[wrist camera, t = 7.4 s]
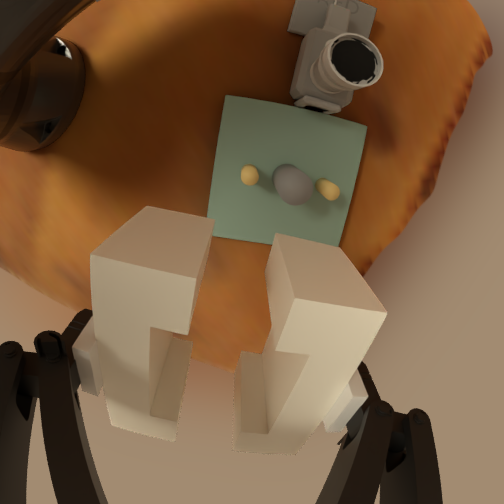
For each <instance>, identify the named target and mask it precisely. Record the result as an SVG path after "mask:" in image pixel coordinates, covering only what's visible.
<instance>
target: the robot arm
mask: <svg viewBox="0 0 504 504" xmlns="http://www.w3.org/2000/svg"><path fill="white" fill-rule="evenodd" d="M95 1H96V2H98V1H100V0H0V146H2V147H5V148H9V149H12V150H16V151H24V152H25V151H32V150H36V149H41V148H44V147H46V146H48V145H50V144H51V143H53V142H54V141H55V140H56V139H58V138H59V137H60V136H61V135H62V134H63V132H64V131H65V130H66V129H67V127H68V126H69V125H70V123H71V121H72V120H73V118H74V116H75V114H76V112H77V110H78V107H79V105H80V102H81V99H82V95H83V90H84V84H85V66H84V61H83V58H82V55H81V53H80V51H79V50H78V48H77V47H76V46H75V45H74V44H73V43H71V42H70V41H68V40H65V39H63V38H60V37H57V36H54V35H55V34H56V33H57V32H58V31H59V30H61V29H62V28H63V27H64V26H65V25H66V24H67V23H68V22H70V21H71V20H72V19H73V18H74V17H76V16H77V15H78V14H79V13H81V12H82V11H83V10H85V9H86V8H87V7H89V6H90V5H91V4H93V3H94V2H95ZM34 345H35V349H36V352H37V353H33V352H25V351H23V349H22V346H21V345H20V344H19V343H17V342H15V341H7V342H5V343H3V344H1V345H0V504H26V482H27V466H28V455H29V445H30V437H31V430H32V424H33V418H34V412H35V407H36V401H37V398H39V399H40V411H41V420H42V429H43V437H44V444H45V450H46V455H47V461H48V466H49V471H50V475H51V480H52V484H53V488H54V491H55V495H56V499H57V502H58V504H108V502H107V499H106V497H105V494H104V491H103V489H102V486H101V483H100V480H99V477H98V474H97V471H96V468H95V464H94V461H93V458H92V454H91V450H90V447H89V443H88V439H87V435H86V431H85V426H84V422H83V417H82V413H81V408H80V402H79V396H78V393H77V389H78V387H79V385H80V384H81V387H82V391H84V392H87V393H90V394H93V395H96V396H98V395H99V393H100V390H101V388H102V386H103V379H102V374H101V368H100V361H99V354H98V347H97V340H96V339H95V332H94V322H93V311H92V310H88V309H84V310H82V311H80V312H79V313H77V314H76V316H75V317H74V319H73V320H72V322H70V324H69V325H68V327H67V328H66V329H65V331H64V332H63V333H62V335H60V333H58V332H55V331H49V330H48V331H43V332H41V333H40V334H38V335H37V336H36V337H35V339H34ZM323 422H324V426H325V431H326V432H341V430H342V429H343V428H344V427H345V426H347V430H348V432H347V433H346V434H345V435H344V437H343V438H342V439H341V440H340V441H339V442H338V445H340V443H341V442H342V443H341V446H340V449H339V451H338V454H337V457H336V459H335V461H334V464H333V466H332V469H331V471H330V473H329V475H328V478H327V480H326V482H325V484H324V487H323V489H322V491H321V493H320V495H319V497H318V499H317V502H316V504H374V502H375V499H376V495H377V492H378V488H379V485H380V504H443V501H442V491H441V482H440V474H439V468H438V460H437V454H436V448H435V443H434V437H433V432H432V428H431V422H430V419H429V416H428V415H427V414H426V413H425V412H424V411H423V410H421V409H417V408H416V409H412V410H410V412H409V413H408V414H402V413H398V412H394V410H393V408H392V406H390V404H389V403H387V402H385V401H382V400H381V399H380V396H379V394H378V392H377V389H376V387H375V385H374V382H373V380H372V378H371V375H370V374H369V371H368V369H367V366H366V365H365V364H364V363H363V362H362V361H361V363H360V364H359V366H358V368H357V369H356V371H355V372H354V374H353V376H352V377H351V379H350V380H349V382H348V384H347V385H346V387H345V388H344V390H343V391H342V393H341V394H340V396H339V397H338V399H337V400H336V402H335V403H334V404H333V406H332V407H331V409H330V410H329V412H328V413H327V414H326V416H325V417H324V419H323Z"/></svg>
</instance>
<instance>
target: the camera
mask: <svg viewBox="0 0 504 504" xmlns="http://www.w3.org/2000/svg"><path fill="white" fill-rule="evenodd" d="M376 10H377V8H375V7H373V6H370V5H368V4H366V3H363V2H361V1H358V0H296V1H295V5H294V8H293V12H292V15H291V19H290V23H289V26H288V30H287V32H291V33H295V34H299V35H302V36H305V37H304V39H303V40H302V42H301V46H300V51H299V55H298V59H297V63H296V67H295V71H294V76H293V80H292V84H291V88H290V92H289V93H290V95H291V96H292V98H293V99H295V100H297V101H296V102H294V105H295V107H298V108H303V107H305V106H310V107H313V108H316V109H320V110H323V111H324V112H320V113H323V114H327V115H328V114H333V113H338V112H340V111H341V108H343V107H345V106H347V105H349V103H350V102H351V101H352V97H353V93H354V90H358V89H361V88H364V87H367V86H370V85H372V84H374V83H375V82H377V81H378V80H379V78H380V77H381V75H382V73H383V59H382V56H381V54H380V52H379V50H378V48H377V47H376V46H375V45H374V44H373V43H372V42H371V41H370V40H369V35H370V32H371V28H372V24H373V21H374V17H375V14H376Z"/></svg>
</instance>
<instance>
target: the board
mask: <svg viewBox="0 0 504 504" xmlns="http://www.w3.org/2000/svg"><path fill="white" fill-rule="evenodd" d="M366 131H367V126H365V125H362V124H359V123H355V122H352V121H349V120H345V119H342V118H338V117H335V116H331V115H327V114H323V113H319V112H315V111H311V110H307V109H303V108H298V107H294V106H289V105H284V104H279V103H274V102H269V101H263V100H257V99H251V98H245V97H238V96H231V95H226V96H225V101H224V107H223V113H222V119H221V125H220V131H219V137H218V143H217V149H216V156H215V162H214V169H213V176H212V183H211V190H210V198H209V205H208V213H207V218H210V219H215V224H214V229H213V234H212V236H216V237H223V238H230V239H237V240H244V241H251V242H257V243H264V244H271V245H272V244H273V241H274V237H275V233H279V234H284V235H288V236H293V237H297V238H301V239H306V240H310V241H314V242H318V243H323V244H327V245H331V246H335V247H338V245H339V242H340V238H341V235H342V231H343V228H344V224H345V220H346V217H347V213H348V209H349V205H350V202H351V198H352V194H353V190H354V186H355V181H356V177H357V173H358V169H359V164H360V160H361V155H362V151H363V146H364V141H365V136H366Z"/></svg>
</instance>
